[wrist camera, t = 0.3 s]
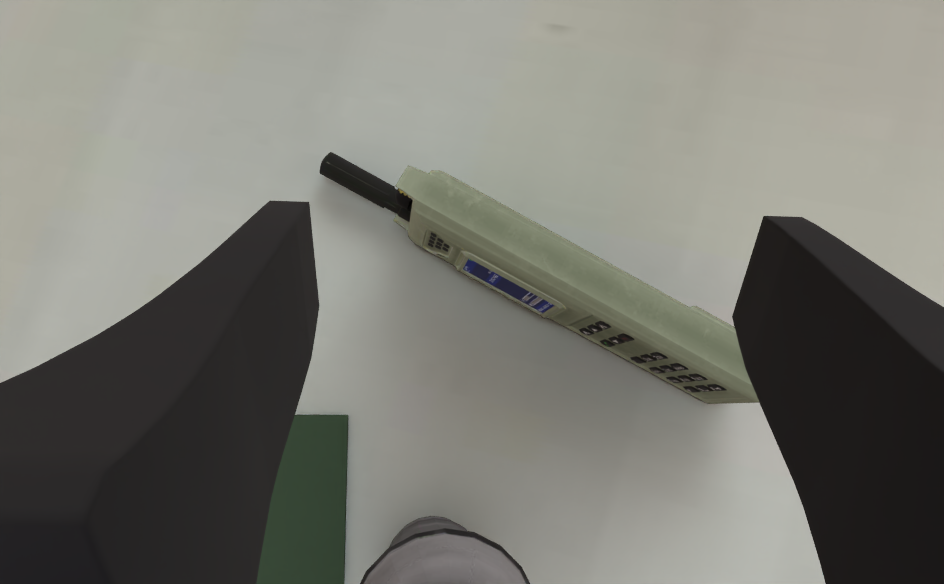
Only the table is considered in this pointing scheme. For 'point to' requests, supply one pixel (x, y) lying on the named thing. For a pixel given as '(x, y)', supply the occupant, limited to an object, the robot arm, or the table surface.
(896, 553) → the robot arm
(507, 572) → the beverage cup
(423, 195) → the handheld radio
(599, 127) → the table surface
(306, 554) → the mat
